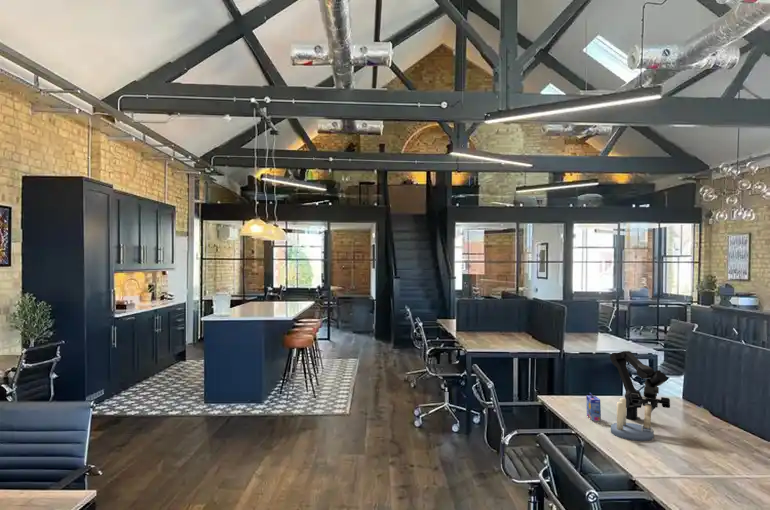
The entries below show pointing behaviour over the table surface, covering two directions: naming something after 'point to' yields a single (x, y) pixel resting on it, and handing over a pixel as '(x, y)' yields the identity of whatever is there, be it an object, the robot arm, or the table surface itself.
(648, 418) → the hinged leg
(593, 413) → the ink cartridge box
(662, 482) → the table surface
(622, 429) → the round peg stand
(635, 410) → the robot arm
